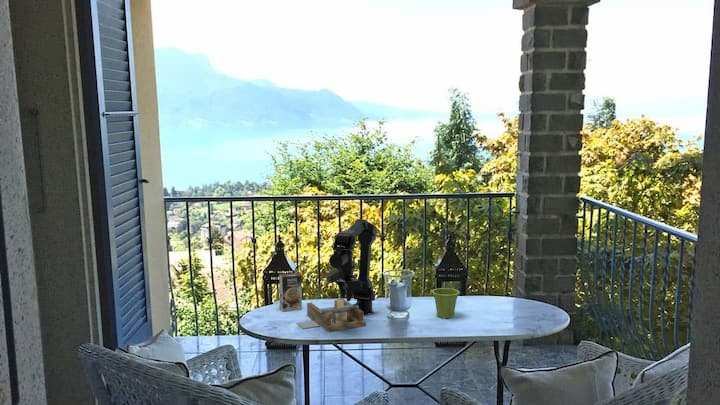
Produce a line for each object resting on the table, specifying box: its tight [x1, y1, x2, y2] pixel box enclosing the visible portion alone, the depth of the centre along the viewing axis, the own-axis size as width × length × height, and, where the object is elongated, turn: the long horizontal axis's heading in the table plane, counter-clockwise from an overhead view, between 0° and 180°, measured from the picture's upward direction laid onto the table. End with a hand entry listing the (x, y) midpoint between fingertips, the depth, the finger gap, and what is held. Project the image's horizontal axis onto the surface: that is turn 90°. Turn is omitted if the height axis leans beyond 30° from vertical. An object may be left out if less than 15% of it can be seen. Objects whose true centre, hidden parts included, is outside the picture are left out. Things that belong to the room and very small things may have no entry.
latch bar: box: [319, 298, 359, 314], centre depth 251 cm, size 17×3×4 cm, turn 116°
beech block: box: [331, 311, 348, 324], centre depth 251 cm, size 5×5×5 cm
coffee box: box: [279, 272, 303, 312], centre depth 271 cm, size 9×6×16 cm
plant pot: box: [431, 287, 460, 319], centre depth 260 cm, size 12×12×11 cm
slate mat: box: [296, 320, 321, 330], centre depth 249 cm, size 8×8×1 cm
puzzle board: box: [306, 297, 367, 333], centre depth 255 cm, size 17×24×6 cm
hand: (345, 299), depth 244 cm, fingers open, 5 cm apart
